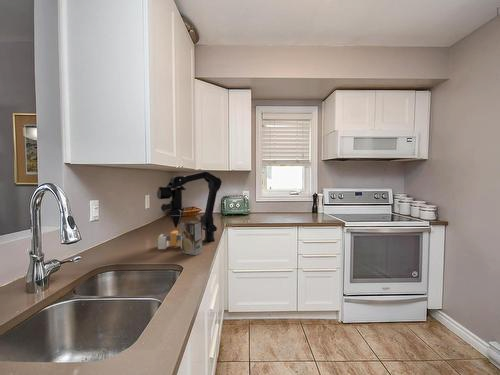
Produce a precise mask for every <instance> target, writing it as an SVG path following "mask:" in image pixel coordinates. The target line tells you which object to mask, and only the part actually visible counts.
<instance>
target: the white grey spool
mask: <svg viewBox="0 0 500 375" xmlns="http://www.w3.org/2000/svg"><path fill="white" fill-rule="evenodd" d="M176 241H178V242H180V249H181V250H182V233H178V234H177V235H176ZM169 242H170V233H168V234H167V233H166V234H165V233H163V234H160V235H159V236H158V237H157V248H158V249H157V250H166V249H167V248H168V246H169Z"/></svg>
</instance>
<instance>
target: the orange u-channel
mask: <svg viewBox="0 0 500 375" xmlns="http://www.w3.org/2000/svg"><path fill="white" fill-rule="evenodd" d="M169 234H170V241H169V242H170V245H169V246H170V247H177V244H178V243H179V241H176V235H177V234H179V231H178V230H172V231H171V232H170V233H169Z"/></svg>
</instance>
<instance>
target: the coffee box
mask: <svg viewBox="0 0 500 375" xmlns="http://www.w3.org/2000/svg"><path fill="white" fill-rule="evenodd" d="M181 234H182V249H181V253H182V254H186V255H187V254H188V255H190V256H191V255H192V256H197V255H199V254H202V253H203V228H202V222H199V221H194V220H188V221H187V220H186V221H183V222H181Z"/></svg>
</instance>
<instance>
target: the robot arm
mask: <svg viewBox="0 0 500 375" xmlns="http://www.w3.org/2000/svg"><path fill="white" fill-rule="evenodd" d="M198 180H204V181H205V182H206V183H207V184H208V185H207V187H208V195H207V201H206V206H205V210H204V214H203V215H201V216H199V217H200V220H199V221H198V222H202V231H204V238H203V242H215V241H216V240H215V239H216V238H215V232H217V230H218V227H217V226H216V225H215V224H214V223H215V222H214V221H215V220H214V216H213V214H214V211H215V210H214V208H215V203H216V198H217V193H218V192H219V190H220V189H221V185H222V179H221V178H220V177H217V176H216V175H214V174H212V173H210V172H209V171H206V170H204V171H201V172H200V171H199V172H197V173H191V174H187V175H174V176H171V177H170V179H169V182H168V184H167V185H166V186H158V189H157V192H156V198H157V199H158V200H168V199H169V200H170V199H171V200H170V202H169V203H162V204H161V206H160V209H161V211H162V213H164V212H166V211H167V210H169V211H168V212H167V213H168V216H169V217H170V218H171V219H172V221H173V225H174V228H178V226H179V225H180V224H181V221H182V218H183V215H184V213H185V207H184V206H183V200H184V199H183V191H186V188H185V187H184V185H186V184H188V183H190V182H194V181H198Z"/></svg>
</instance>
